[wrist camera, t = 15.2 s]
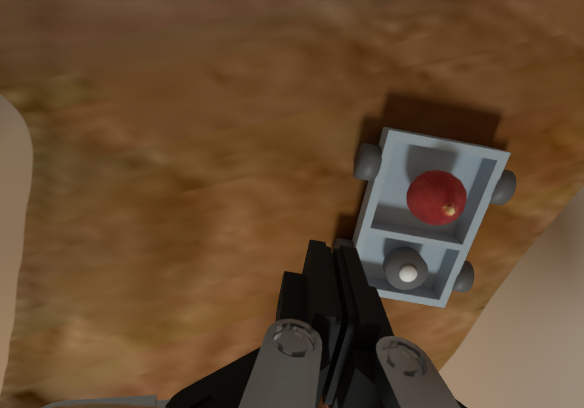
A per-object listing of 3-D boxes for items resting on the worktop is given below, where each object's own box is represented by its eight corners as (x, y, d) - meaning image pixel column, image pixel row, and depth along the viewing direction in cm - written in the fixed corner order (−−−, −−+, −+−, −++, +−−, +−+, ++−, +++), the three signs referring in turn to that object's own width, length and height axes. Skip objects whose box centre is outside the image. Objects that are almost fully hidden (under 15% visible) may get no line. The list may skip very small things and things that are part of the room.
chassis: (364, 122, 36) (371, 126, 32) (506, 150, 36) (530, 156, 32) (326, 271, 42) (329, 289, 39) (446, 292, 43) (460, 312, 39)
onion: (458, 182, 36) (499, 206, 29) (423, 219, 38) (453, 251, 31) (422, 153, 35) (454, 170, 28) (387, 192, 37) (409, 218, 29)
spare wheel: (389, 243, 38) (394, 253, 36) (427, 250, 38) (435, 260, 36) (378, 276, 39) (382, 288, 37) (415, 283, 40) (421, 295, 37)
